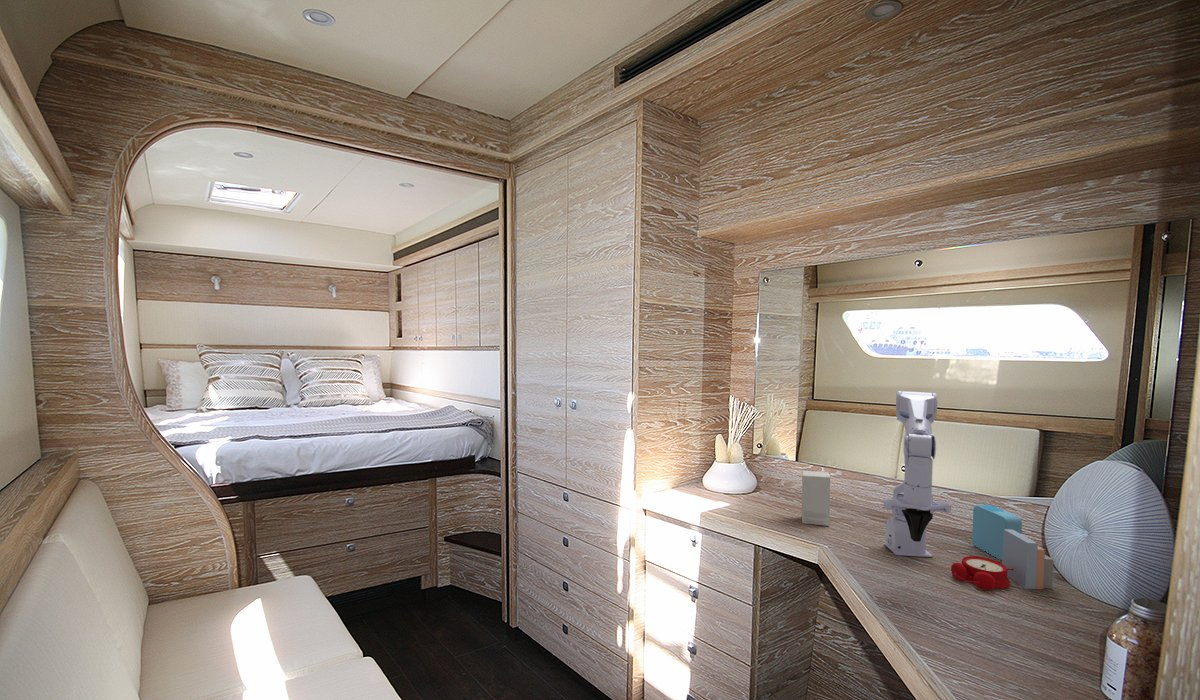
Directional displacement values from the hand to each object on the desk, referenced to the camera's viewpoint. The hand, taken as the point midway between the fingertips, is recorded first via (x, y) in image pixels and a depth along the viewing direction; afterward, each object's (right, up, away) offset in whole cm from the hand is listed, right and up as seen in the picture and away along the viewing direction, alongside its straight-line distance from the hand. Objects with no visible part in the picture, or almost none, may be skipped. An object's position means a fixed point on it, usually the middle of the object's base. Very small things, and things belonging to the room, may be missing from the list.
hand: (915, 540), depth 131 cm
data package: (+33, -11, +19) cm, 39 cm away
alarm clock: (+17, -11, +2) cm, 20 cm away
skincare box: (-8, -9, +41) cm, 43 cm away
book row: (+29, -11, +2) cm, 31 cm away
